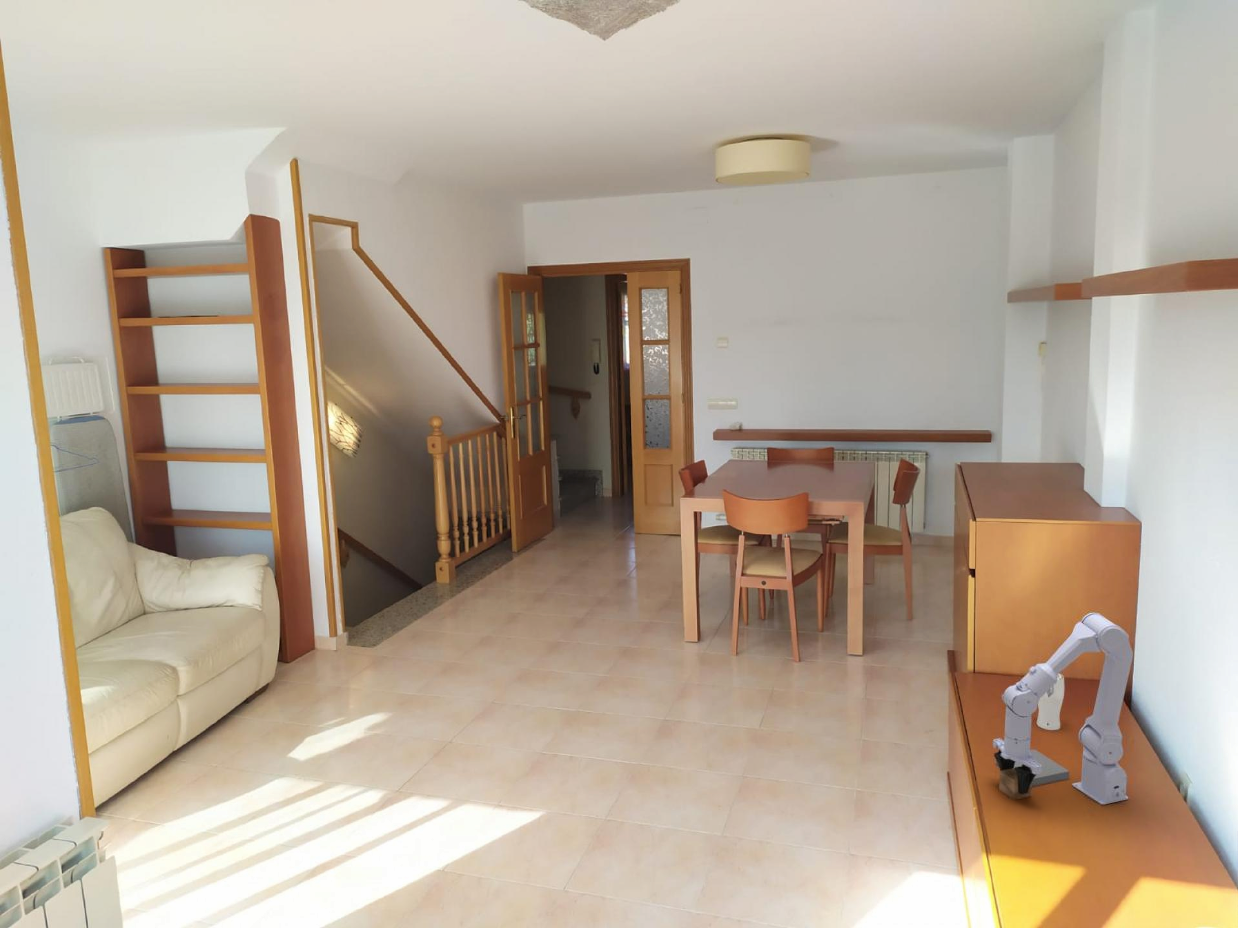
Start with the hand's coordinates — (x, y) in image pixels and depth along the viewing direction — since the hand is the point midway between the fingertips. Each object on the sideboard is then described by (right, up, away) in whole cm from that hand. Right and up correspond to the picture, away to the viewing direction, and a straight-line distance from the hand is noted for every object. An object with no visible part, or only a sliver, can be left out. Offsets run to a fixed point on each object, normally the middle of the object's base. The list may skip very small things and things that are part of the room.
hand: (1015, 787), depth 217 cm
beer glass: (+24, +5, +34) cm, 42 cm away
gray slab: (+9, 0, +10) cm, 13 cm away
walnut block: (0, -2, 0) cm, 2 cm away
